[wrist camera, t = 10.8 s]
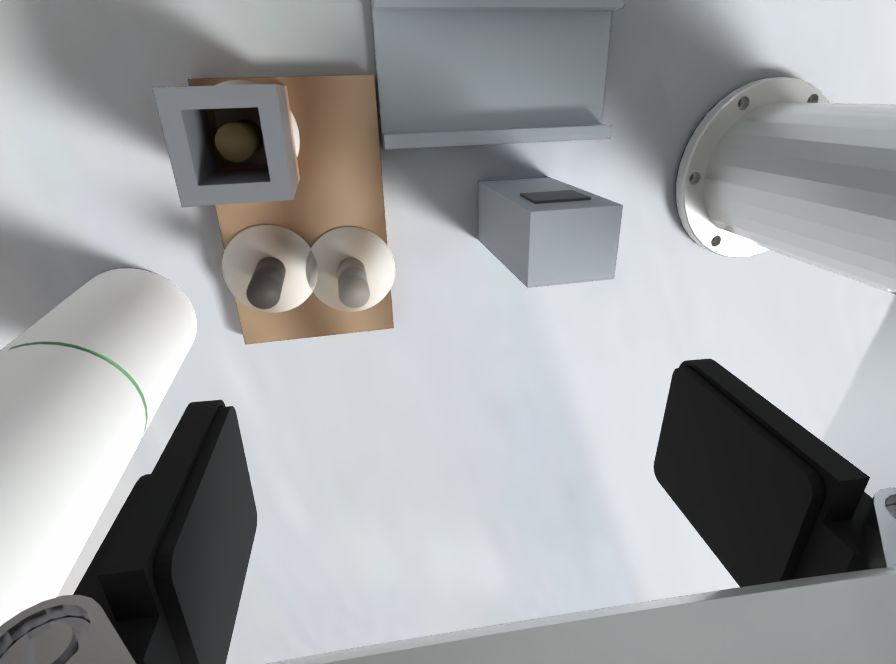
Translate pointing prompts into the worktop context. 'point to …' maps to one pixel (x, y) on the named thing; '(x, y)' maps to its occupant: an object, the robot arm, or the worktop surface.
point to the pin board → (309, 215)
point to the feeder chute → (491, 70)
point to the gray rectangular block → (549, 230)
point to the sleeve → (201, 162)
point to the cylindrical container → (79, 419)
